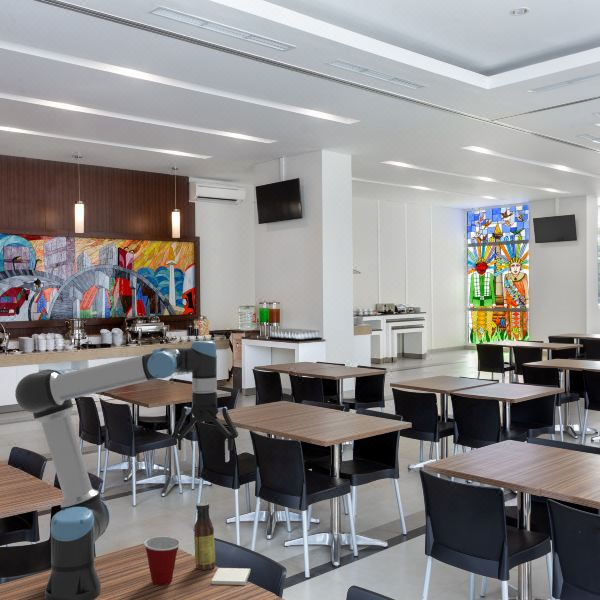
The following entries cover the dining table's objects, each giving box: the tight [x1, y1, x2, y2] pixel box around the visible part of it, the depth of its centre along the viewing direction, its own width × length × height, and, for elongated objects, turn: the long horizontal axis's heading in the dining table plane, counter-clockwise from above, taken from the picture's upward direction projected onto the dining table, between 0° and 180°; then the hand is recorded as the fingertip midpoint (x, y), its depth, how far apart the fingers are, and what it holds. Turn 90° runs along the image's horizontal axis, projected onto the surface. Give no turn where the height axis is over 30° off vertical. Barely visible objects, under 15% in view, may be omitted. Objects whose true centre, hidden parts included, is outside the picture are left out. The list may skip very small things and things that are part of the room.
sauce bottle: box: [193, 501, 216, 571], centre depth 218 cm, size 7×6×20 cm
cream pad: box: [210, 567, 251, 586], centre depth 209 cm, size 10×10×1 cm
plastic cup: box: [143, 535, 181, 586], centre depth 207 cm, size 11×11×12 cm
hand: (205, 461), depth 212 cm, fingers open, 13 cm apart
